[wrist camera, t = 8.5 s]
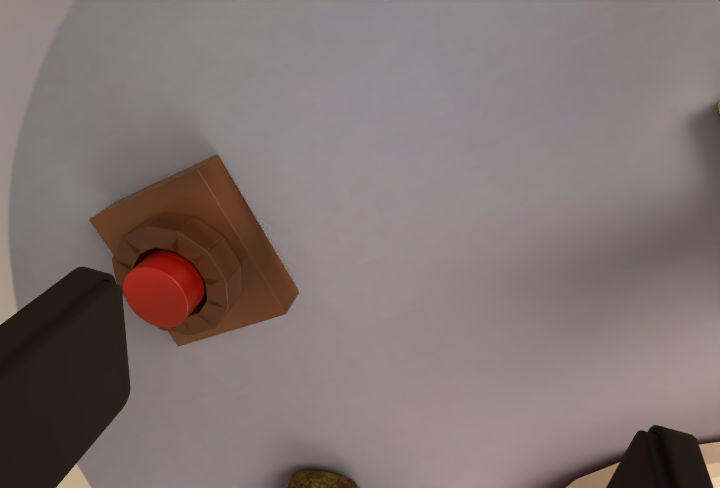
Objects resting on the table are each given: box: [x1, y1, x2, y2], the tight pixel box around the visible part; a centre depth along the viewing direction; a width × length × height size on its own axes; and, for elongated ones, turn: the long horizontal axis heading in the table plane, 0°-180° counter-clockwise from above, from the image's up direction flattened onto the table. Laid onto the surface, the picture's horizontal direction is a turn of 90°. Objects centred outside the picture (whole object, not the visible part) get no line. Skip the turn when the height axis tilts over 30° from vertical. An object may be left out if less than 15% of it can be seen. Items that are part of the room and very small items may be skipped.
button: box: [123, 251, 204, 327], centre depth 29 cm, size 4×4×2 cm
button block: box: [90, 155, 299, 346], centre depth 31 cm, size 9×8×4 cm
